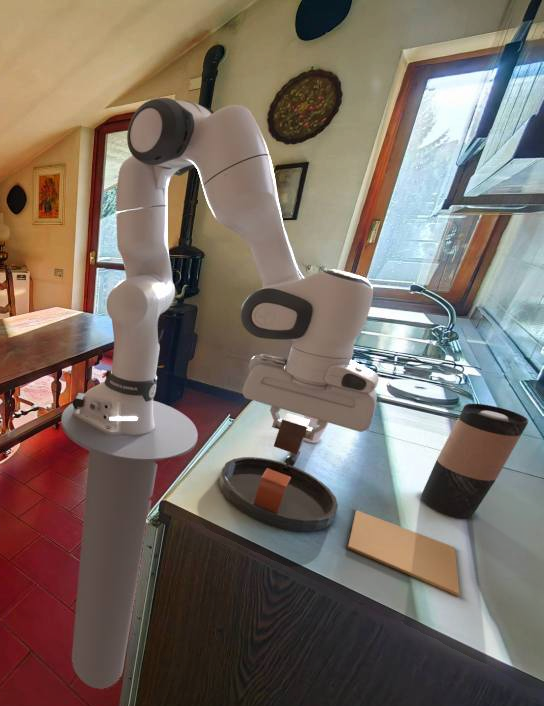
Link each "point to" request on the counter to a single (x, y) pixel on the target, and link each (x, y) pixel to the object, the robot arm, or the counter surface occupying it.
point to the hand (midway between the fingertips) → (292, 432)
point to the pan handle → (290, 460)
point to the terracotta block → (272, 490)
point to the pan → (299, 502)
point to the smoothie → (312, 425)
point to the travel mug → (472, 459)
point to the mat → (405, 551)
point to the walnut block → (291, 433)
